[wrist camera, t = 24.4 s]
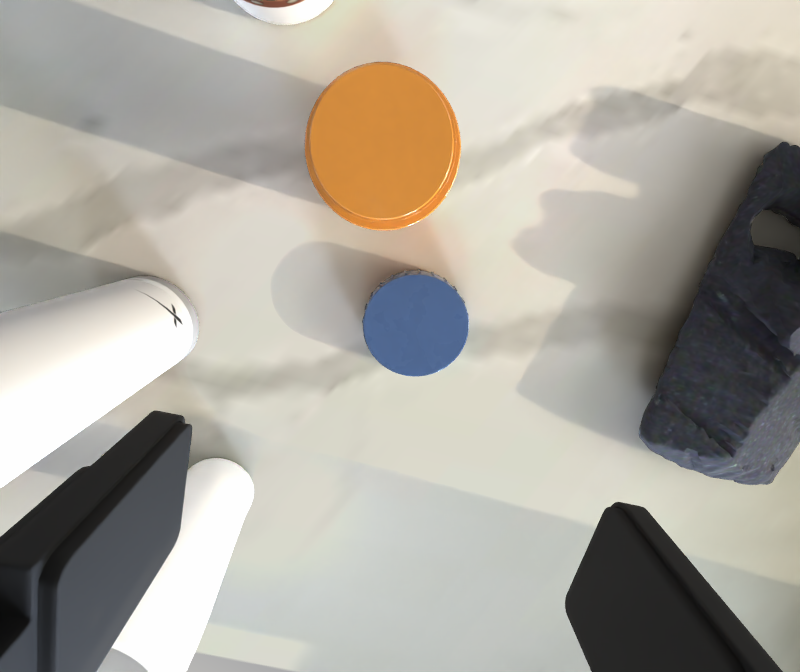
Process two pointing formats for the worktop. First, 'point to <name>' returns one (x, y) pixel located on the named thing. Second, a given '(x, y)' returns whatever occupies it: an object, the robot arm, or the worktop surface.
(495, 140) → the worktop surface
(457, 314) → the jam lid
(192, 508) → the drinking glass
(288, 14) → the milk bottle
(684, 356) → the dark slate chunk
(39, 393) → the travel mug
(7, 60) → the worktop surface
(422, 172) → the honey jar
